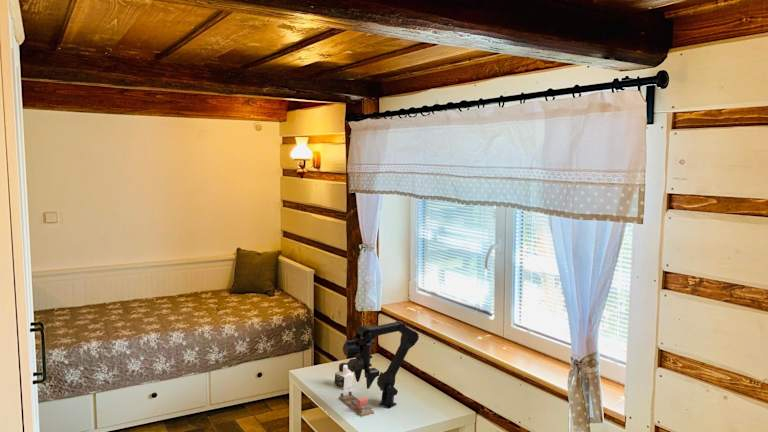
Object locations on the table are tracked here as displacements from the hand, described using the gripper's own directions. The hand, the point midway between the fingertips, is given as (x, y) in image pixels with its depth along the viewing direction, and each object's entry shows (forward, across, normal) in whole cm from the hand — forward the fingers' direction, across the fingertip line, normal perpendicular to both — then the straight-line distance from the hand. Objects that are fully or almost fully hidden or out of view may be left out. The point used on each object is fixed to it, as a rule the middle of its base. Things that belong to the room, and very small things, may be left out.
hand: (362, 385), depth 265 cm
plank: (+12, -4, 0) cm, 13 cm away
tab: (+11, -2, 0) cm, 11 cm away
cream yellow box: (+12, -28, +6) cm, 31 cm away
